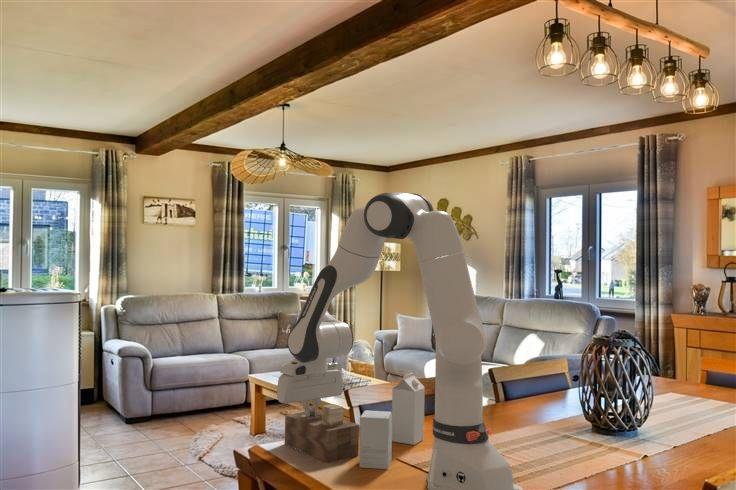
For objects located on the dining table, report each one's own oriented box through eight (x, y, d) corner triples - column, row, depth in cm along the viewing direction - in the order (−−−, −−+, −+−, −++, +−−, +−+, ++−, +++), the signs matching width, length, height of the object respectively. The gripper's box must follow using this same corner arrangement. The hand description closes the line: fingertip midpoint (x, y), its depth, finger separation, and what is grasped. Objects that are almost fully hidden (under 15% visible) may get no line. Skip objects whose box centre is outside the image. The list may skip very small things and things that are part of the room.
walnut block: (358, 455, 161) (359, 424, 161) (327, 462, 155) (328, 430, 155) (314, 438, 176) (314, 409, 176) (284, 444, 170) (285, 415, 170)
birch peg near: (342, 433, 162) (343, 406, 162) (330, 436, 159) (331, 409, 159) (333, 430, 165) (334, 404, 165) (321, 432, 162) (322, 406, 162)
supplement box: (392, 460, 157) (393, 411, 158) (387, 470, 150) (388, 418, 150) (363, 458, 159) (364, 409, 159) (358, 467, 151) (359, 416, 152)
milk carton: (391, 441, 174) (392, 374, 175) (401, 435, 180) (402, 370, 181) (414, 445, 171) (415, 377, 171) (424, 439, 177) (425, 373, 178)
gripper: (334, 360, 179) (333, 408, 179) (274, 367, 166) (273, 418, 165) (348, 363, 174) (347, 412, 174) (287, 370, 161) (286, 423, 160)
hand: (310, 415), depth 169 cm, fingers closed
